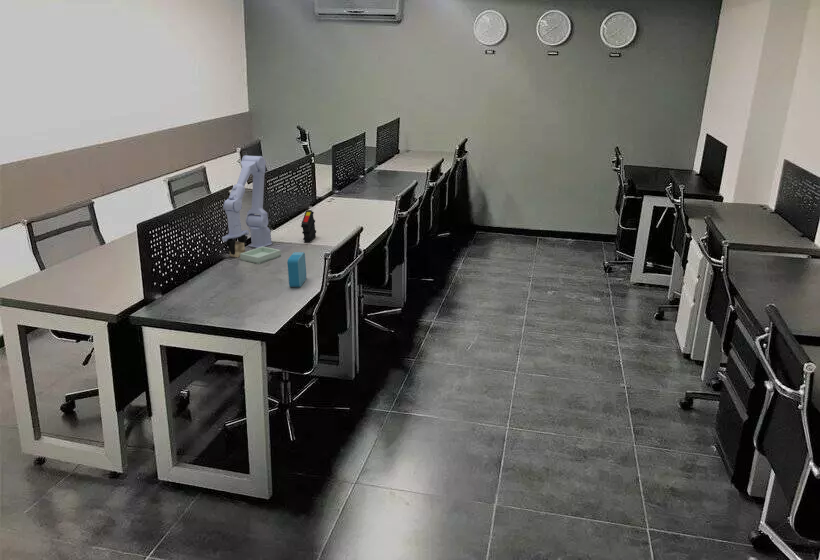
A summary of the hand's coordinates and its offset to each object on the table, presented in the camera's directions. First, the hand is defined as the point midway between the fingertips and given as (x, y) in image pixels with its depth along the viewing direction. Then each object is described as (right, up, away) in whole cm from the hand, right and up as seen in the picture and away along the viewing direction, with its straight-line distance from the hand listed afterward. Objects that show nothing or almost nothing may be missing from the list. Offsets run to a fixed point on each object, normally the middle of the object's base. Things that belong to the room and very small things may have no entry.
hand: (237, 252), depth 313 cm
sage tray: (+12, -3, -4) cm, 13 cm away
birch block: (0, -1, 0) cm, 1 cm away
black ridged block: (+31, +7, +23) cm, 39 cm away
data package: (+35, -14, -37) cm, 53 cm away
